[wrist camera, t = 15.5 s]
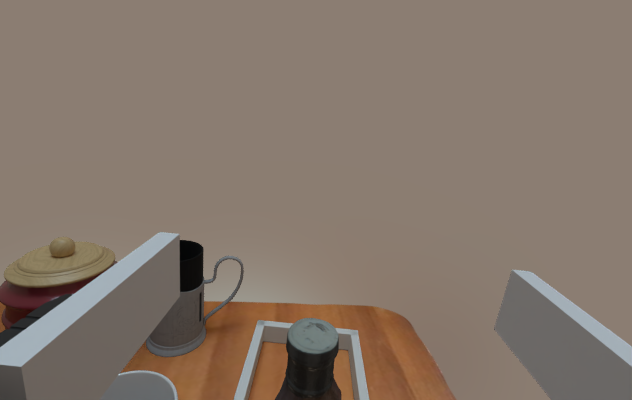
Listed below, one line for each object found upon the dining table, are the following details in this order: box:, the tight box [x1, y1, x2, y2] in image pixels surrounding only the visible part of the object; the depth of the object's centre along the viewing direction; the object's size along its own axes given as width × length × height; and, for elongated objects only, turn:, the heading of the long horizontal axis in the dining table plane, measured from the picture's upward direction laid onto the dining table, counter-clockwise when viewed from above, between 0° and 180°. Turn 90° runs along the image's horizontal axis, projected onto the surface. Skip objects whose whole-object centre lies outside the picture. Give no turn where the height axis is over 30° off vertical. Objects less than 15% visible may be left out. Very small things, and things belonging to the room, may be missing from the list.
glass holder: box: [146, 240, 243, 357], centre depth 49 cm, size 9×14×15 cm, turn 106°
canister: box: [0, 237, 118, 330], centre depth 42 cm, size 13×13×18 cm
